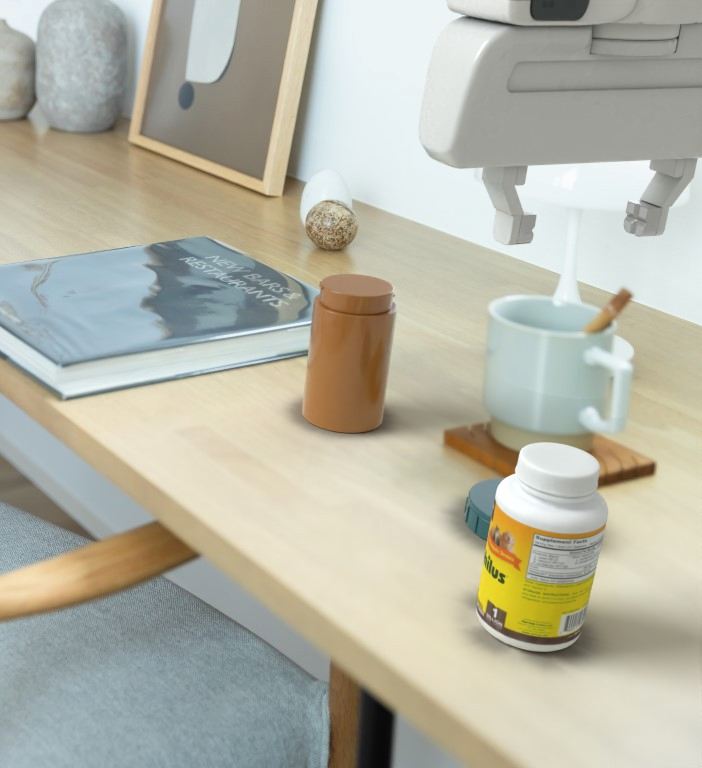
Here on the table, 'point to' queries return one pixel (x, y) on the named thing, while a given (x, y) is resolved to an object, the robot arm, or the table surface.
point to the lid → (481, 506)
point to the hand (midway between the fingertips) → (578, 238)
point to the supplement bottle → (542, 548)
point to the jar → (349, 353)
